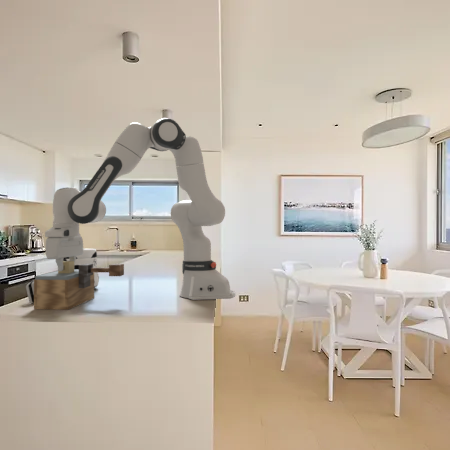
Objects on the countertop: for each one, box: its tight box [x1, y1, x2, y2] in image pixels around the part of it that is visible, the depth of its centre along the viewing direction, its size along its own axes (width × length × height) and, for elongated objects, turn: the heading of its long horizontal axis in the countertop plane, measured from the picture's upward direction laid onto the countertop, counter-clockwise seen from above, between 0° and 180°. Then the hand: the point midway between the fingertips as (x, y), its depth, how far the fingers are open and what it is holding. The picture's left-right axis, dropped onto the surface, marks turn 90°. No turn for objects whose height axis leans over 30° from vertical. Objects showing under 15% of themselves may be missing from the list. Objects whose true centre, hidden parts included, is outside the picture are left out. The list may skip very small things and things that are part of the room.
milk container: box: [63, 247, 100, 289], centre depth 157 cm, size 17×17×18 cm
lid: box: [34, 261, 79, 280], centre depth 130 cm, size 11×19×6 cm, turn 176°
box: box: [33, 264, 95, 311], centre depth 130 cm, size 15×20×14 cm
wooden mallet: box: [91, 263, 125, 277], centre depth 129 cm, size 11×4×4 cm, turn 86°
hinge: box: [25, 279, 35, 305], centre depth 137 cm, size 17×5×10 cm, turn 175°
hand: (66, 269), depth 130 cm, fingers open, 5 cm apart
